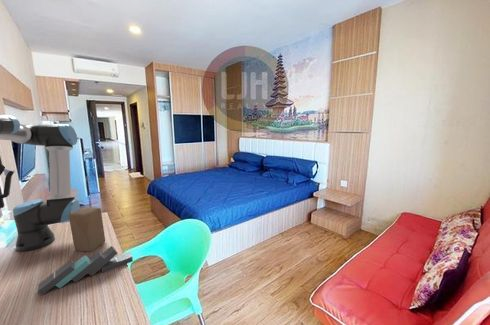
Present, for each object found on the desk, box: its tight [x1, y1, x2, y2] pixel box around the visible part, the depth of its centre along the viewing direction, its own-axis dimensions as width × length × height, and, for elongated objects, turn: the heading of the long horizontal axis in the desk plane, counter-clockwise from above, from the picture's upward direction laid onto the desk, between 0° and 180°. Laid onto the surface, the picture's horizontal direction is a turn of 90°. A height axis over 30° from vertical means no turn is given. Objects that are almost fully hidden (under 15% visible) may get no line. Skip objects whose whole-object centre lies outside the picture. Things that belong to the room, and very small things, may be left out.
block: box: [69, 206, 106, 252], centre depth 112 cm, size 10×10×20 cm
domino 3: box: [71, 250, 104, 283], centre depth 93 cm, size 5×2×12 cm
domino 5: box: [100, 251, 133, 274], centre depth 99 cm, size 5×2×12 cm
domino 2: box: [54, 254, 90, 289], centre depth 89 cm, size 5×2×12 cm
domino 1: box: [37, 259, 75, 296], centre depth 86 cm, size 5×2×12 cm
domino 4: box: [87, 245, 119, 277], centre depth 96 cm, size 5×2×12 cm
